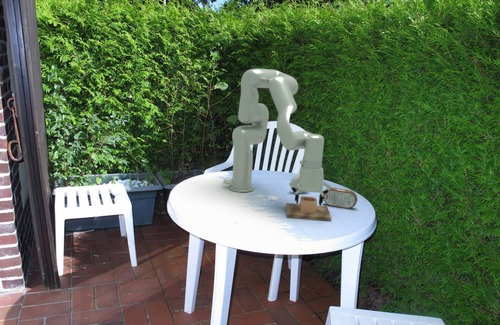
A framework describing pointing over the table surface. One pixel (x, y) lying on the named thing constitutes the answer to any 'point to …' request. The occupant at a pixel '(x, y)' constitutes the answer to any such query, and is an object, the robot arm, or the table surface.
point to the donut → (297, 183)
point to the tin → (340, 198)
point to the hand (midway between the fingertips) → (308, 203)
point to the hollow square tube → (308, 204)
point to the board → (294, 212)
